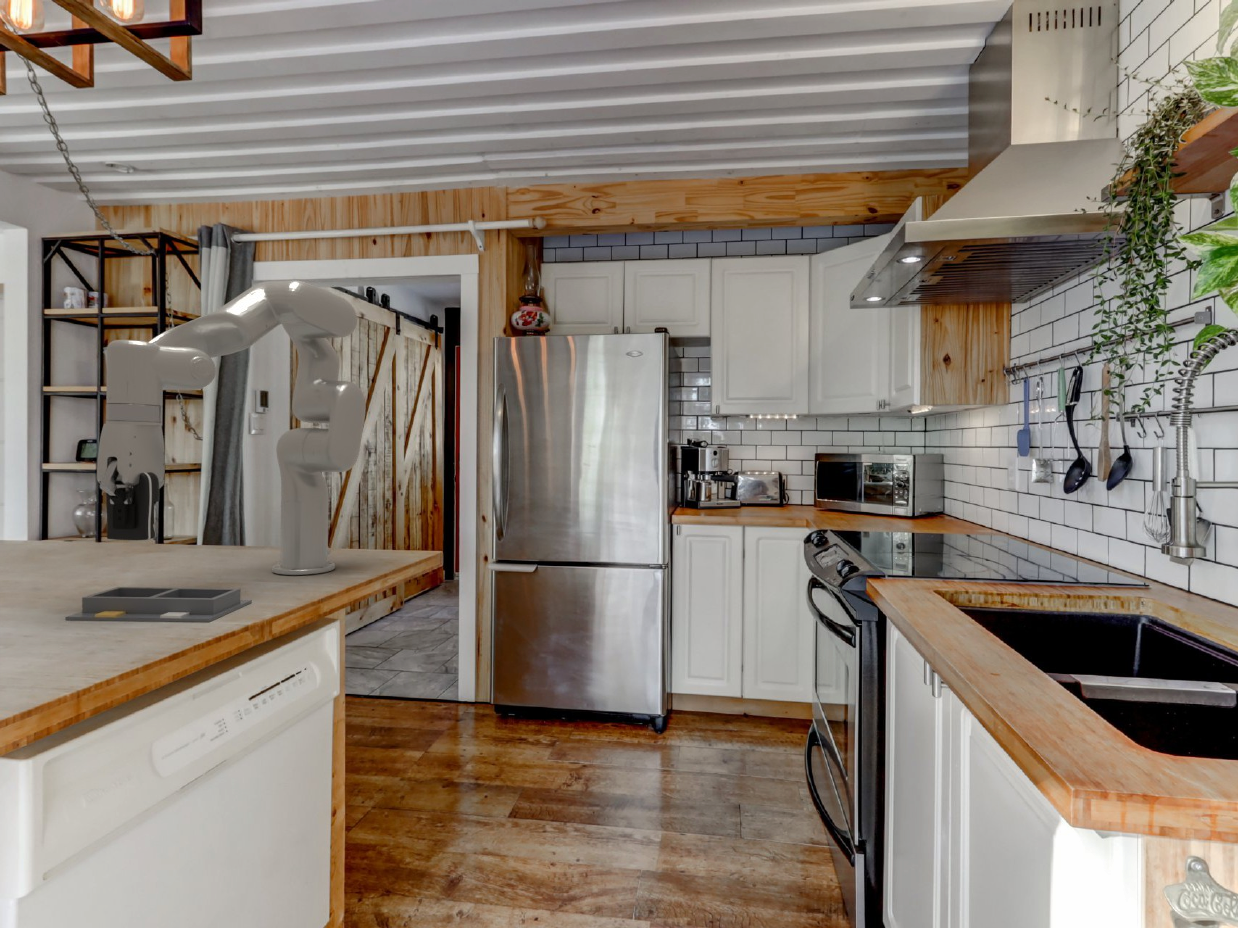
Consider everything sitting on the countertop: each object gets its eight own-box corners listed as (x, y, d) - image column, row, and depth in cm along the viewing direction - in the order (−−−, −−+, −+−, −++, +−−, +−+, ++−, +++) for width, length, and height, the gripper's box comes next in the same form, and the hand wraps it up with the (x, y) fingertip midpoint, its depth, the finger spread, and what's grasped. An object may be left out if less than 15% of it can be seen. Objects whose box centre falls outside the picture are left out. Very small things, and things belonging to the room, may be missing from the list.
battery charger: (162, 538, 112) (163, 470, 112) (146, 541, 108) (147, 471, 108) (121, 537, 112) (122, 469, 112) (104, 540, 108) (104, 470, 108)
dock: (124, 600, 117) (124, 583, 117) (251, 602, 118) (251, 585, 118) (65, 620, 104) (65, 601, 104) (209, 622, 105) (209, 603, 105)
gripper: (145, 418, 118) (144, 521, 118) (71, 413, 101) (70, 533, 102) (188, 419, 118) (187, 522, 119) (122, 414, 102) (121, 534, 102)
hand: (133, 525), depth 110 cm, fingers closed on battery charger, 3 cm apart
